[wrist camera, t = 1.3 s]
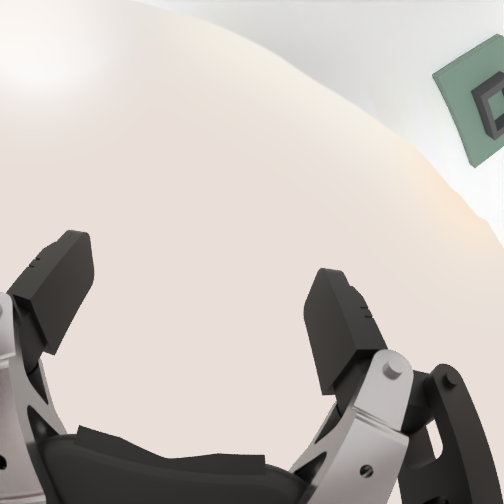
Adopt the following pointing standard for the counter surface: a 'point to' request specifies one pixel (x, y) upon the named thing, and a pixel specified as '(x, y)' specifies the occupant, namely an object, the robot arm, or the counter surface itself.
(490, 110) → the board
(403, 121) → the counter surface
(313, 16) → the counter surface
